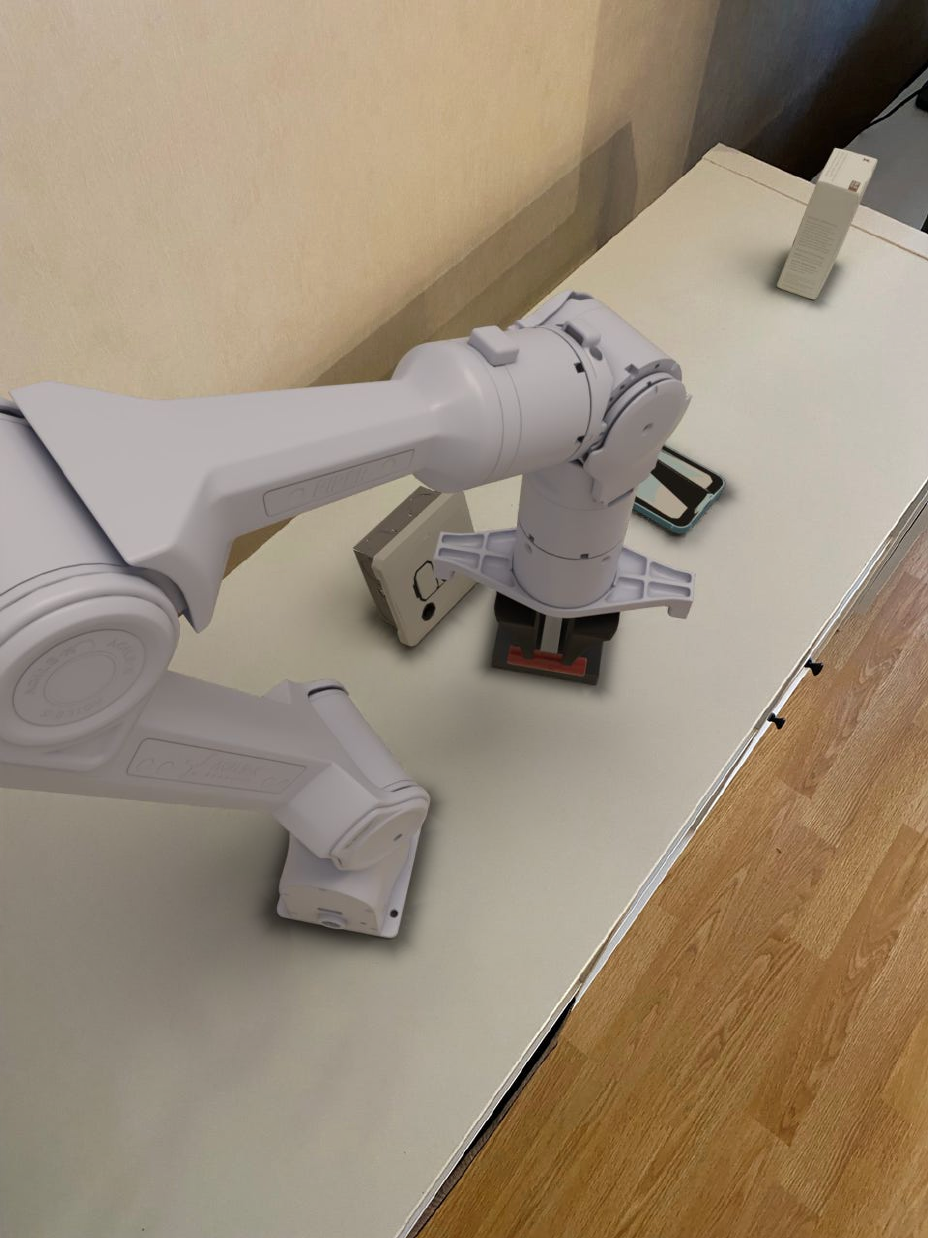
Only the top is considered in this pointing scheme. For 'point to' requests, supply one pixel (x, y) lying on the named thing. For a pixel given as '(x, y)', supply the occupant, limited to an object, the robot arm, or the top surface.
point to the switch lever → (548, 652)
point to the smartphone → (677, 491)
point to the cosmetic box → (826, 222)
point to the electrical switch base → (507, 640)
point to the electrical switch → (414, 562)
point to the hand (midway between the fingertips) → (549, 649)
